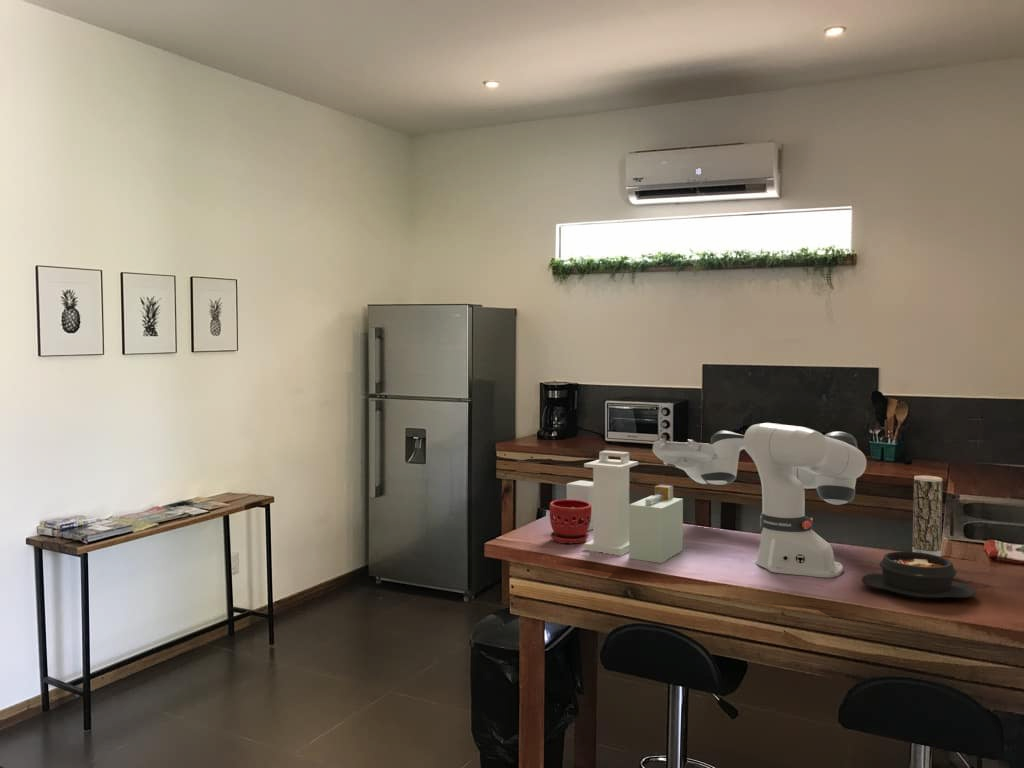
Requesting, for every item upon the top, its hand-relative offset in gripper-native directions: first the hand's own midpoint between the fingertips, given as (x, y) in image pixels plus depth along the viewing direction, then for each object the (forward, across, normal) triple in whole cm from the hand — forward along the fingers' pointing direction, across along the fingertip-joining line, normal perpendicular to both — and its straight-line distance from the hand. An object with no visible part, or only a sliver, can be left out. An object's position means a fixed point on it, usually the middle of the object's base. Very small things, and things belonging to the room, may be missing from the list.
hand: (675, 441), depth 256 cm
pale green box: (+10, -5, -40) cm, 41 cm away
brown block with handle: (+16, -5, -26) cm, 31 cm away
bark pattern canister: (-13, -72, -29) cm, 79 cm away
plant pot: (+9, +24, -39) cm, 47 cm away
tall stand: (+11, +9, -40) cm, 42 cm away
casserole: (+8, -73, -41) cm, 84 cm away
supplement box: (-7, +30, -30) cm, 43 cm away
